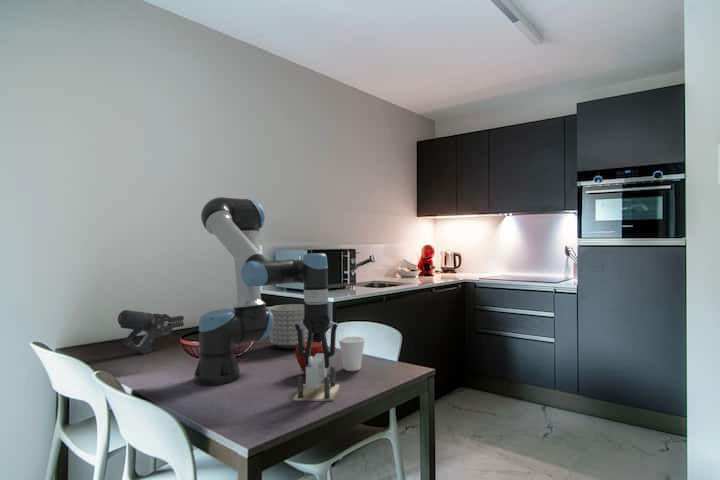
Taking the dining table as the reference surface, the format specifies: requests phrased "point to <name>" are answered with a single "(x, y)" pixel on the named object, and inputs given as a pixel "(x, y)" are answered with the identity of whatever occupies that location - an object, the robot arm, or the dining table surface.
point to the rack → (318, 389)
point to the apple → (314, 350)
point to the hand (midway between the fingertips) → (317, 378)
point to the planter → (287, 325)
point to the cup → (352, 352)
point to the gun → (147, 327)
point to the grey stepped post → (315, 371)
